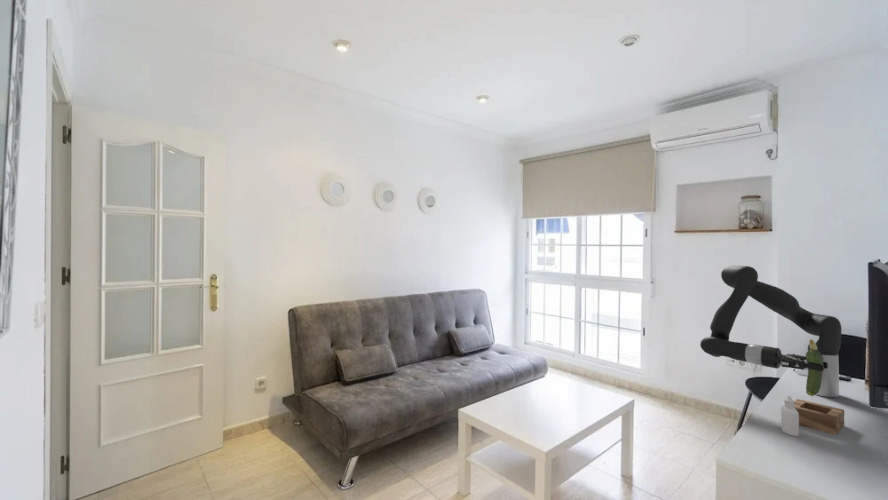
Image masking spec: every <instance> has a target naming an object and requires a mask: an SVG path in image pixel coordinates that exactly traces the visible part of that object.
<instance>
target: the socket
mask: <svg viewBox="0 0 888 500" xmlns="http://www.w3.org/2000/svg"><path fill="white" fill-rule="evenodd" d="M793 401H794V402H795V407H794V408H795V409H796V410H797V411H798V414H799V426H801V427H805V428H808V429H813V430H816V431H819V432H822V433H823V432H824V433H826V434H827V433H828V434H830V435H834V436H836V435H838V433H839V432H840V431H841V430H842V429H843V428H844V427H845V409H842V408H839V407H834V406H829V405H826V404H822V403H817V402H812V401H809V400H804V399H800V398H797V399H795V400H793Z"/></svg>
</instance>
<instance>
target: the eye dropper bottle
mask: <svg viewBox="0 0 888 500" xmlns="http://www.w3.org/2000/svg"><path fill="white" fill-rule="evenodd" d="M794 401H795V400H793V398H792V396H791V395H788V396H787V398H785V399H784V405H782V406H781V407H780V415H781V416H780V417H781V418H780V422H781V423H780V424H781V427H780V429H781V431H782V432H784V433H785V434H787V435H789V436H792V437H800V425H799V414H798V411H797V410H796V409H795V408H794V407H795V402H794Z"/></svg>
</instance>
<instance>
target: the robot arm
mask: <svg viewBox="0 0 888 500" xmlns="http://www.w3.org/2000/svg"><path fill="white" fill-rule="evenodd" d="M720 274H721V276H720V277H721V280H722V281H723V283H724V284H726V285H727V286H728V287H730V288H732V289H733V290H732V293H731V294H730V295H729V297H728V298H727V299H726V300H725V301H724V302H723V303H722V304H721V305H720V306H719V307H718V308H717V310H716V311H715V313H714V316H713V317H712V321H711V322H710V323H711V324H710V327H709V328H710V330H711V334H710V336H707V337H704V338H703V339H701V341H700V344H699V345H700V348H701V350H702V351H703V352H704V353H706V354H707V355H710V356H711V357H715V358H720V357H727V358H730V359H732V360H735V361H739V362H745V363H748V364H749V363H750V364H752V365H756V366H762V367H767V368H772V369H779V368H780V367H782V368H789V369H797V370H802V371H803V370H804V371H805V370H808V368H809V369H812V370H818V371H822V381H821V387H820V390H819V392H818V393H817V394H815V395H816V396H821V397H826V398H839V397H840V375H839V374H840V373H839V372H840V371H839V370H840V368H839V367H840V365H839V364H840V363H839V352H840V349H841V347H842V345H841V344H842V329H843V328H842V324H841V321H840V320H839V319H838V318H837V317H835V316H832V315H828V314H819V313H814V312H810V311H808V310H806V309H805V308H803V307H801V305H800V302H799V301H798V299H797V298H796V297H795V296H793V295H792V294H790V293H789V292H787V291H785V290H784V289H782V288H779V287H777V286H774V285H772V284H768V283H765V282H763V281H759V279H758V278H759V274H758V272H757V270H756V269H755V268H754V267H753V266H749V265H748V266H747V265H730V266H726V267H724V268H723V269H722V271H721V273H720ZM749 297H750V298H752V299H753V300H754V301H757V302H758V303H760V304H762V305H764V306H765V307H766V308H767V309H769V310H771V311H772V312H774V313H777V314H778V315H780V316H781V317H783V318H785V319H787V320H788V321H790V322H791V323H794V324H795V325H796V326H798V328H800V329H801V330H803V331H804V332H806V333H807V334H809V335H812V336H817V337H818V342H815V344H816V345H817V348H818V349H817V351H819V352H820V353H821V354H822V357H823V365H822V364H817V363H811V362H809V363H808V362H807V361H806V355H805V356H804V355H799V354H795V353H792V354H791V353H786V354H782V351H781V349H780V348H778V347H775V346H774V347H773V346H768V345H762V344H755V343H754V344H753V343H752V344H751V343H744V342H737V341H731V340H730V334H731V331H732V330H733V327H734V323H735V322H736V319H737V316H738V314H739V312H740V311H741V309H742V307H743V306H744V304H745V303H746V301H747V299H748V298H749ZM809 350H811V349H810V343H809V344H808V345H807V352H808V351H809Z"/></svg>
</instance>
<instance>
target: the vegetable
mask: <svg viewBox="0 0 888 500" xmlns="http://www.w3.org/2000/svg"><path fill="white" fill-rule="evenodd" d="M815 343H816V342H815V341H814V340H813V339H809V344H810V349H811V350H809V351H808V350H807V352H806V353H805V357H806V360H805V361H807V362H808V363H809V362H811V363H817V364H822V365H823V357H822V354H821V353H820V352H819V351H817V349H818V348H817V345H816V344H815ZM821 381H822V371H818V370H812V369H809V368H808V369H807V378H806V385H805V393H806V394H807V395H808V396H811V397H814V396H815V395H816V394H817V393H818V392H819V390H820V387H821Z"/></svg>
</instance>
